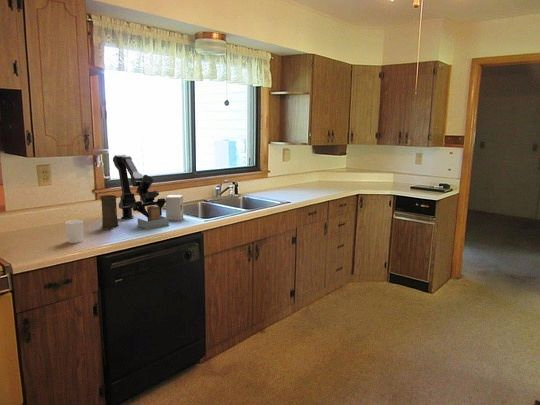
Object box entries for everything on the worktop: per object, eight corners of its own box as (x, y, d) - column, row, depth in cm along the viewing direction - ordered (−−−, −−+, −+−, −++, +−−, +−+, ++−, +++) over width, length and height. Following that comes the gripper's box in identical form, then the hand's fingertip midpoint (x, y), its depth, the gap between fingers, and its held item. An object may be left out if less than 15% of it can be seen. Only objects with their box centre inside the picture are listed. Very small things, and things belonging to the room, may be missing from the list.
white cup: (64, 241, 200) (62, 221, 198) (81, 238, 206) (79, 219, 204) (70, 244, 195) (68, 224, 193) (87, 241, 200) (85, 221, 198)
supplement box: (180, 221, 244) (180, 197, 242) (165, 221, 244) (165, 197, 242) (183, 218, 253) (183, 194, 251) (169, 218, 253) (168, 194, 251)
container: (104, 230, 221) (102, 198, 218) (99, 227, 228) (97, 195, 225) (121, 228, 227) (119, 196, 224) (115, 225, 234) (114, 194, 231)
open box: (137, 227, 229) (137, 218, 229) (159, 223, 239) (159, 215, 238) (146, 230, 222) (146, 221, 221) (168, 226, 232) (168, 218, 231)
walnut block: (147, 225, 230) (147, 206, 228) (155, 224, 233) (155, 205, 231) (152, 227, 226) (151, 208, 224) (160, 225, 230) (159, 206, 228)
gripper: (133, 187, 222) (143, 210, 216) (163, 184, 235) (174, 205, 229) (127, 199, 229) (137, 221, 223) (157, 196, 242) (167, 217, 236)
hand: (154, 216), depth 228 cm, fingers open, 8 cm apart
